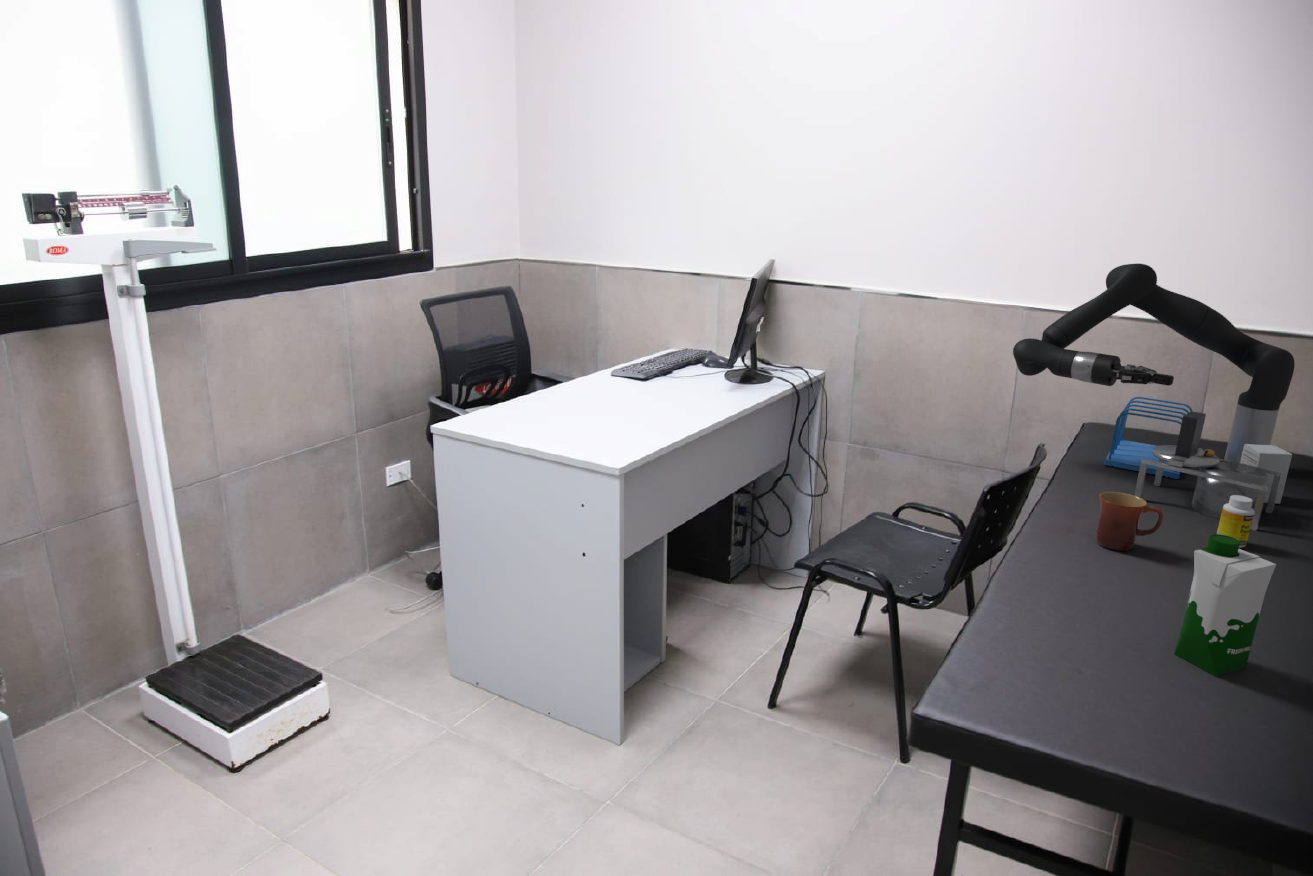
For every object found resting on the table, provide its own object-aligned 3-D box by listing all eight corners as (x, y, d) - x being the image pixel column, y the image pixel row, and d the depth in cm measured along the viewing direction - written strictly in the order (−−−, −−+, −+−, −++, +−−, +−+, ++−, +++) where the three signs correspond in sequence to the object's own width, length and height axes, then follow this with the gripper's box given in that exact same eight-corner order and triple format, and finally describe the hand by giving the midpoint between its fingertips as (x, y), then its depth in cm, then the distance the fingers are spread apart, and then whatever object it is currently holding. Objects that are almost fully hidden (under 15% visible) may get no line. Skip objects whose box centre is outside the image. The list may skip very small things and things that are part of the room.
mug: (1090, 548, 178) (1099, 502, 175) (1090, 534, 186) (1098, 488, 183) (1157, 560, 174) (1167, 513, 171) (1153, 545, 181) (1163, 499, 178)
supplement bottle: (1238, 551, 180) (1249, 504, 177) (1209, 541, 184) (1220, 496, 181) (1251, 545, 183) (1262, 500, 180) (1222, 536, 187) (1233, 491, 184)
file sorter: (1178, 480, 223) (1190, 423, 218) (1103, 466, 232) (1114, 411, 227) (1185, 457, 243) (1197, 403, 238) (1116, 445, 252) (1126, 393, 247)
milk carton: (1201, 642, 143) (1228, 529, 137) (1256, 670, 135) (1287, 552, 129) (1164, 652, 139) (1190, 537, 134) (1218, 682, 131) (1249, 560, 126)
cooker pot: (1133, 499, 208) (1141, 459, 205) (1154, 484, 219) (1162, 446, 216) (1255, 530, 191) (1266, 487, 188) (1272, 512, 202) (1282, 471, 199)
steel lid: (1142, 458, 205) (1151, 414, 201) (1163, 445, 216) (1172, 403, 213) (1208, 473, 195) (1218, 427, 192) (1226, 458, 207) (1237, 415, 203)
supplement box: (1263, 493, 215) (1275, 444, 211) (1280, 504, 208) (1293, 454, 204) (1231, 491, 215) (1243, 443, 212) (1248, 502, 208) (1260, 452, 205)
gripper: (1088, 356, 210) (1167, 369, 199) (1107, 350, 219) (1184, 361, 208) (1082, 386, 213) (1160, 400, 201) (1102, 379, 222) (1177, 392, 210)
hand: (1172, 380), depth 204 cm, fingers closed
